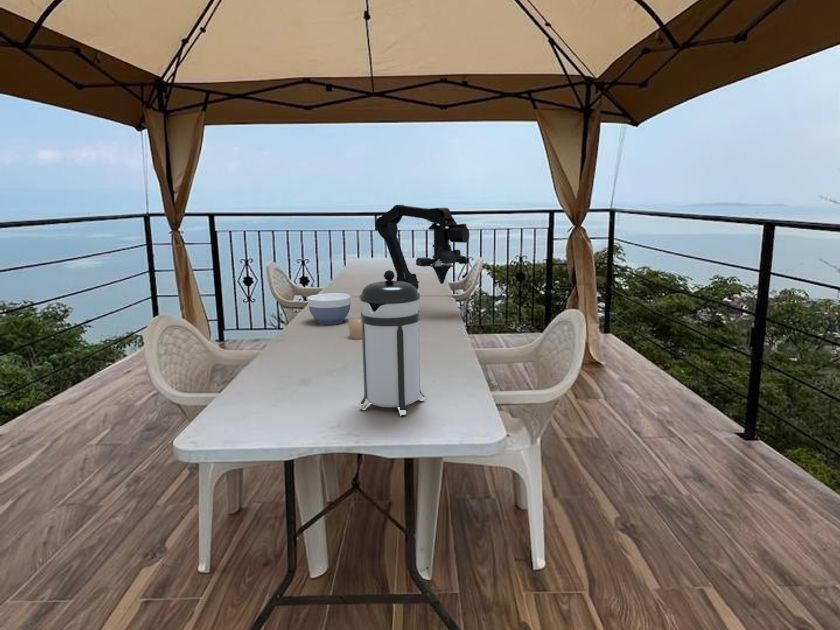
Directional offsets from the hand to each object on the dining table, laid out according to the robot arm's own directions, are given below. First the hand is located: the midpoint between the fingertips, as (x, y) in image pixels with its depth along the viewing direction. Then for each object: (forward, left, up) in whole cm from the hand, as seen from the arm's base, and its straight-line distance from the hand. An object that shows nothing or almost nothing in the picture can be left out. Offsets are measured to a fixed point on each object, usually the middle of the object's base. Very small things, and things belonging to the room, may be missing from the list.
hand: (441, 283), depth 214 cm
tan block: (+16, -38, -13) cm, 43 cm away
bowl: (-12, -40, -13) cm, 44 cm away
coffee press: (+79, -49, -13) cm, 94 cm away
